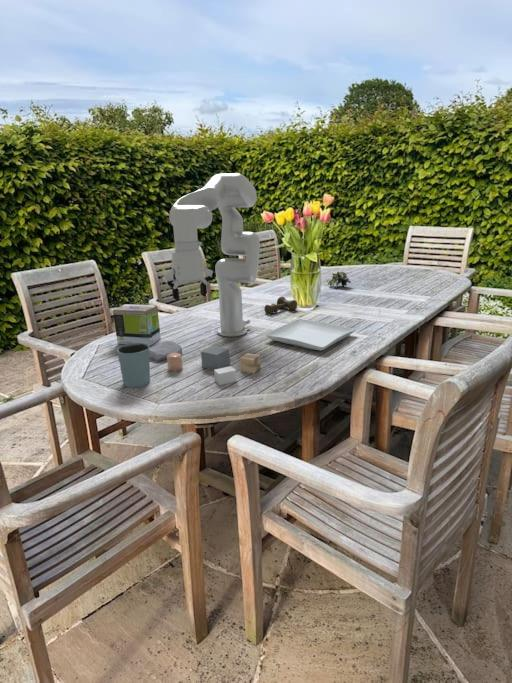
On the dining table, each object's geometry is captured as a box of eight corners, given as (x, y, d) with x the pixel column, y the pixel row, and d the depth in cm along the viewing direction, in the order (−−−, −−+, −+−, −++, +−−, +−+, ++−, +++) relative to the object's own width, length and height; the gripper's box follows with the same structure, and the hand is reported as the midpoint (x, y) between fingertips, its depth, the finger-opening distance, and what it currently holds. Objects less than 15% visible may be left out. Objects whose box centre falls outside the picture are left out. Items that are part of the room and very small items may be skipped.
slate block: (214, 360, 168) (213, 345, 166) (229, 364, 164) (229, 348, 162) (202, 367, 162) (201, 351, 160) (218, 371, 159) (217, 355, 157)
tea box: (161, 338, 193) (158, 304, 188) (150, 347, 184) (146, 311, 179) (129, 336, 197) (125, 302, 192) (116, 344, 188) (111, 309, 183)
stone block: (185, 357, 177) (167, 347, 182) (185, 346, 174) (168, 337, 180) (161, 368, 168) (143, 357, 173) (161, 357, 166) (143, 346, 171)
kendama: (260, 313, 226) (289, 305, 239) (274, 318, 220) (302, 308, 232) (260, 302, 224) (289, 293, 236) (273, 306, 217) (303, 297, 230)
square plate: (323, 356, 170) (323, 346, 169) (263, 342, 186) (263, 333, 185) (355, 336, 190) (356, 327, 189) (299, 325, 206) (299, 317, 205)
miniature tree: (342, 295, 277) (355, 279, 272) (334, 295, 268) (347, 279, 263) (329, 282, 281) (341, 267, 276) (321, 282, 272) (334, 267, 267)
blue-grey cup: (115, 387, 148) (111, 352, 144) (129, 375, 157) (125, 341, 153) (145, 389, 146) (141, 354, 142) (157, 376, 155) (154, 343, 151)
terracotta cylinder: (176, 365, 165) (175, 352, 163) (185, 368, 162) (184, 355, 160) (165, 369, 161) (163, 356, 160) (174, 372, 158) (173, 359, 156)
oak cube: (247, 366, 162) (247, 352, 161) (260, 368, 160) (259, 355, 158) (240, 371, 158) (240, 357, 156) (253, 373, 156) (253, 359, 154)
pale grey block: (231, 377, 154) (230, 366, 152) (236, 381, 150) (235, 370, 149) (214, 381, 151) (214, 369, 150) (219, 385, 148) (218, 374, 147)
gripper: (206, 243, 157) (209, 292, 163) (157, 247, 149) (162, 299, 155) (215, 245, 151) (218, 296, 157) (164, 250, 143) (169, 303, 149)
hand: (190, 297), depth 156 cm, fingers open, 9 cm apart
